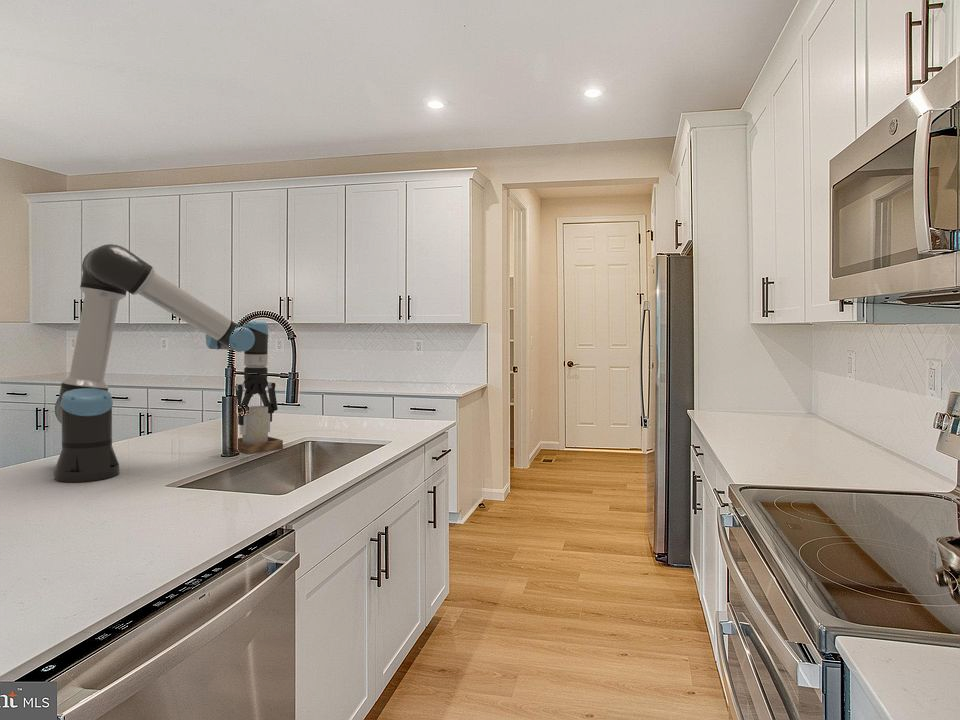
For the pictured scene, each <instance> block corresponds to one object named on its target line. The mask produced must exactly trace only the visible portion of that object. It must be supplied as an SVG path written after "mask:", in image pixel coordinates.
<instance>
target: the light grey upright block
mask: <svg viewBox="0 0 960 720" xmlns="http://www.w3.org/2000/svg"><path fill="white" fill-rule="evenodd" d="M248 407H249V413H248V414H247V415H246V416H247V417H246V435H242V436H241V438H242V443H245V444H255V443H262V442H268V436H269V435H268V434H269V432H268V407H267V406H264V405H248Z"/></svg>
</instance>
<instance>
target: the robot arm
mask: <svg viewBox="0 0 960 720" xmlns="http://www.w3.org/2000/svg"><path fill="white" fill-rule="evenodd" d="M81 268H82V269H81V271H82V275H81V281H80V284H79V285H80V287H79V289H80V290H81V291H82V293H83V294H84V299H83V303H82V309H81V315H80V319H79V324H78V330H77V335H76V340H75V346H74V351H73V355H72V361H71V366H70V371H69V376H68V377H67V378H65V379H64V380H61V386H60V390H59V396H58V398H57V399H56V401H55V403H54V415H55V418H57V419H56V420H57V421H58V422H59V423H60V424H61V452H60V454H59V456H58V460H57V462H56V464H55V468H54V469H53V470H54V471H53V472H54V473H53V475H54V477H53V479H54V480H55V481H58V482H64V483H65V482H66V483H80V482H81V483H82V482H83V483H84V482H94V481H99V480H105V479H110V478H113V477H115V476H116V477H117V475H118V476H119V474H120V462H119V461H118V457H117V456H116V452H115V450H114V448H113V404H114V403H113V399H112V394H111V393H110V392H109V391H108V390H109V386H108V384H107V383H106V382H105V375H106V371H107V366H108V365H107V364H108V360H109V355H110V349H111V344H112V339H113V334H114V328H115V323H116V317H117V313H118V312H117V311H118V307H119V302H120V301H121V300H122V299H124V298H126V296H127V292H128V294H131V295H140V296H142V297H143V298H144V299H146V300H148V301H149V302H151V303H153V304H155V305H156V306H158V307H160V308H162V309H163V310H165V311H167V312H168V313H170V314H172V315H173V316H175V317H176V318H178V319H180V320H182V321H183V322H185V323H187V324H188V325H190V326H192V327H194V328H195V329H197V330H199V331H201V332H202V333H204V334H205V342H206V343H205V344H206V346H207V348H208V349H210V350H216V351H217V350H228V349H229V344H230V349H231V350H230V351H234V350H235V351H234V352H237V353H242V352H243V354H244V355H243V356H244V357H243V358H244V359H243V365H244V366H245V367H243V373H244V372H245V373H257V374H267V376H266V375H265V376H264V375H251V374H248V375H246V374H245V375H244V374H243V379H244V380H243V383H236V384H235V385H236V386H235V385H234V388H235V393H236V395H237V399H238V405H239V406H243V405H245V406H246V407H247V406H249V404H250V401H251V399H252V397H253V396H254V395H257V394H258V396H259V397H260V399H261V402H262V404H263V406H267V407H268V433H271V422H273V414H274V413H275V411H278V402H277V396H276V382H272V381H270V382H269V381H268V367H267V366H268V358H269V356H268V343H269V326H268V323H267V322H265V321H255V320H254V321H252V320H250V321H249V320H248V321H249V322H248V323H247V324H245V323H244V325H243V326H241V325H239V324H238V323H236V322H234V321H232V320H231V319H230V318H228V317H227V316H225V315H223V314H222V313H220V312H219V311H217V310H216V309H214V308H212V307H211V306H209V305H208V304H206V303H204V302H203V301H201V300H199V299H198V298H197V297H194V296H193V295H191V294H190V293H188V292H187V291H185V290H183V289H182V288H180V287H178V286H177V285H176V284H174V283H172V282H171V281H170V280H168V279H166V278H164V277H162V276H161V275H160V274H158V273H157V272H155V268H154V266H152V265H151V264H149V263H147V262H146V261H145V260H143V259H141V258H140V257H138V256H137V255H136V254H134V253H133V252H132V251H130V250H129V249H127V248H125V247H124V246H121V245H118V244H111V243H109V244H103V245H101V246H98V247H96V248H94V249H92V250H90V251H89V252H88V253H87V254H86V255H85V256H84V258H83V259H82V264H81ZM237 325H238V326H237ZM236 326H237V327H236ZM239 326H240V327H239ZM235 327H236V329H235ZM241 328H242V329H241ZM234 329H235V330H234ZM240 329H241V331H240V332H239V330H240ZM233 331H234V332H233ZM232 333H233V334H232ZM238 333H239V334H238ZM236 337H237V338H236ZM232 349H233V350H232ZM228 351H229V350H228ZM266 389H267V390H266ZM244 390H245V391H244ZM267 391H268V393H267ZM243 392H244V393H243ZM267 394H268V395H267ZM243 395H244V396H243ZM246 417H247V416H246V415H244V416H241V415H239V416H238V415H237V424H238V426H239V427H240V428H239V433H240V435H242V436H243V435H246Z"/></svg>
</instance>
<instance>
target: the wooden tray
mask: <svg viewBox="0 0 960 720" xmlns="http://www.w3.org/2000/svg"><path fill="white" fill-rule="evenodd" d="M237 438H238V450H239V451H238V452H239V453H243V454H246V455H250V454H257V453H263V452H270V451H276V450H282V449H283V448H284V445H283V443H284V439H281V438H280V439H279V438H275V437H272V436H269V435H268V442H262V443H255V444H245V443H242V437H237Z"/></svg>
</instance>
